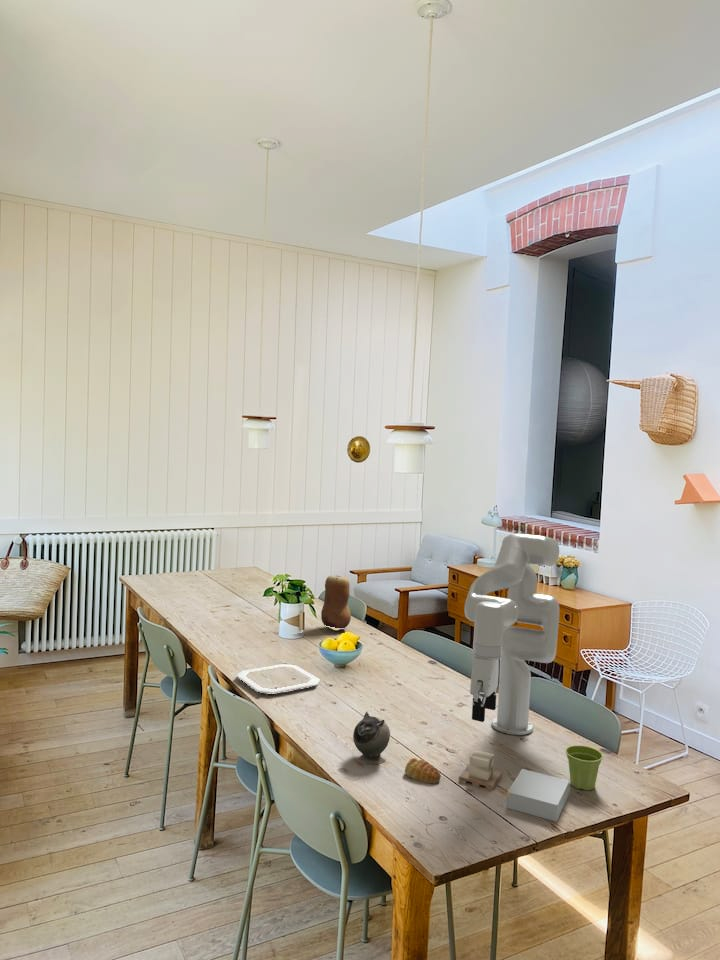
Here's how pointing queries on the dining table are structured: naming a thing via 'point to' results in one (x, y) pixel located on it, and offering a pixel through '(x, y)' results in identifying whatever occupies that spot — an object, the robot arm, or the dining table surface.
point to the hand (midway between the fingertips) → (483, 714)
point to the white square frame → (312, 682)
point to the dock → (538, 794)
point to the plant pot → (583, 766)
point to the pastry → (422, 771)
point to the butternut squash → (336, 602)
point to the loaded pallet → (480, 781)
